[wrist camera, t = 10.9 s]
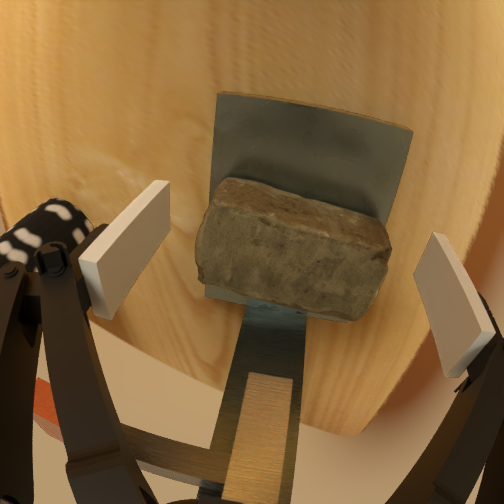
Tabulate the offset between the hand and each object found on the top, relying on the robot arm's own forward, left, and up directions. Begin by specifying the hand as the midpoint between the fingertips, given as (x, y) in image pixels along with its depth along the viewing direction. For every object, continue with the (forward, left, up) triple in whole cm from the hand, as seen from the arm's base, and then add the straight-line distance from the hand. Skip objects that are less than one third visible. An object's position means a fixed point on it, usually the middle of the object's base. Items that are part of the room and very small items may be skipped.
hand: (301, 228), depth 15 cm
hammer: (+8, -5, +3) cm, 11 cm away
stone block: (+3, 0, -6) cm, 7 cm away
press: (+5, 0, -7) cm, 9 cm away
